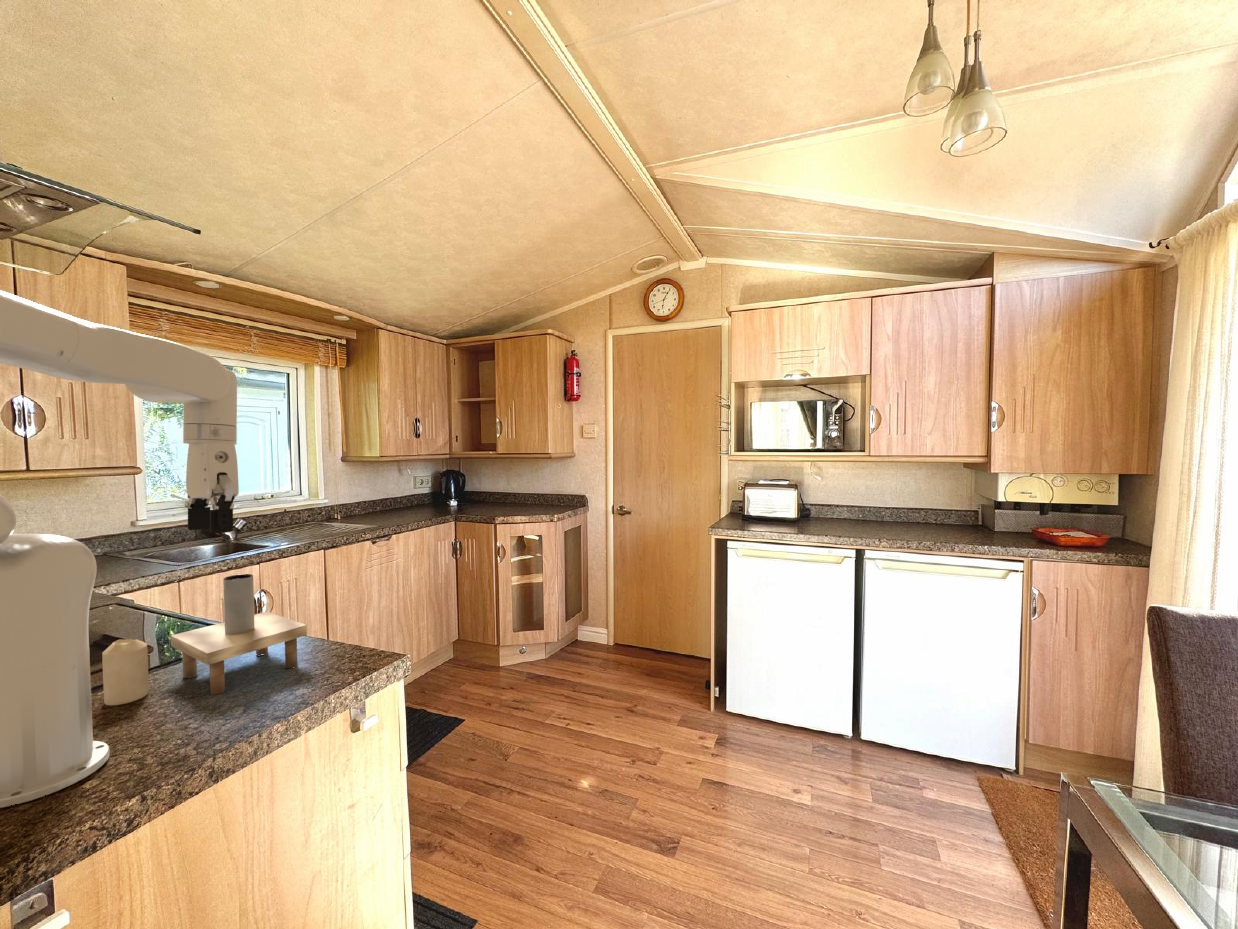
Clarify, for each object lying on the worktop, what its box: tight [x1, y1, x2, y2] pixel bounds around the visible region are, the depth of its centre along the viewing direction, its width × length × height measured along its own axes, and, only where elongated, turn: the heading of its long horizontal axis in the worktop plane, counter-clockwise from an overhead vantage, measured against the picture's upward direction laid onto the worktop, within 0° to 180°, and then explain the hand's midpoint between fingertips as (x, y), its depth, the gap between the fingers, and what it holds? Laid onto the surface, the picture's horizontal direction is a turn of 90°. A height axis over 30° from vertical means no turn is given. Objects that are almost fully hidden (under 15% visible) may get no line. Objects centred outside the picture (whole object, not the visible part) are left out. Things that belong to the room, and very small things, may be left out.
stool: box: [170, 611, 308, 696], centre depth 97 cm, size 16×16×8 cm
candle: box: [101, 638, 150, 706], centre depth 87 cm, size 6×6×10 cm
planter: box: [222, 573, 255, 634], centre depth 96 cm, size 4×4×10 cm
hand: (209, 530), depth 91 cm, fingers open, 9 cm apart
